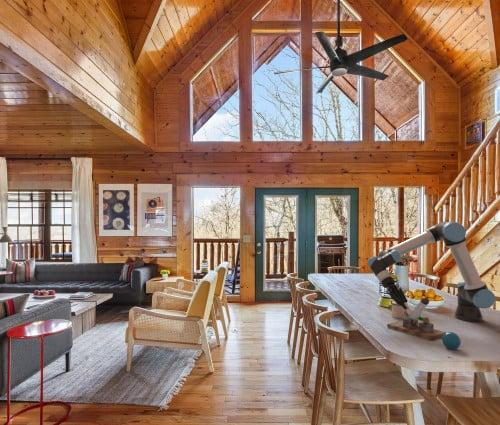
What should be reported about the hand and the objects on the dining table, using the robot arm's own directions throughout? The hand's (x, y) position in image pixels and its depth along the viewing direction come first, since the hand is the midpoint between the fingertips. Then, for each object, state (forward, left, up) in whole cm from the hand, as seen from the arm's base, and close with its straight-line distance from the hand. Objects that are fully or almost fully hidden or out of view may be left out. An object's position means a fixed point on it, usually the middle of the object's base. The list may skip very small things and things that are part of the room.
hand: (411, 313), depth 193 cm
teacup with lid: (+6, -30, -10) cm, 32 cm away
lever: (0, -1, -5) cm, 5 cm away
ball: (-17, +23, -10) cm, 30 cm away
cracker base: (-2, +1, -9) cm, 10 cm away
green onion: (+2, -34, -10) cm, 36 cm away
